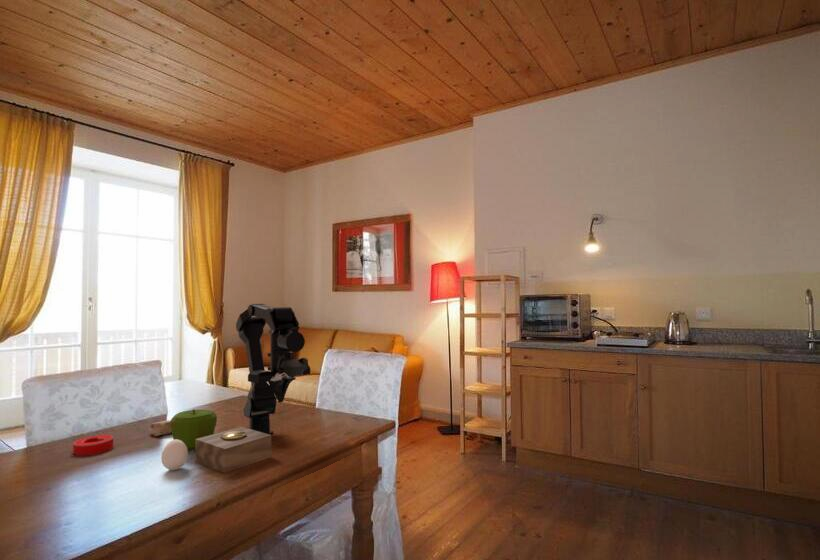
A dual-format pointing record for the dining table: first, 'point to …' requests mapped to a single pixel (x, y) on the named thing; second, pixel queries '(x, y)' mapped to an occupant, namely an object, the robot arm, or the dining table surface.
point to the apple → (193, 426)
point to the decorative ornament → (93, 445)
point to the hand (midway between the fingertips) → (280, 402)
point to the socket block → (232, 450)
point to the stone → (161, 428)
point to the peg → (233, 435)
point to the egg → (174, 455)
